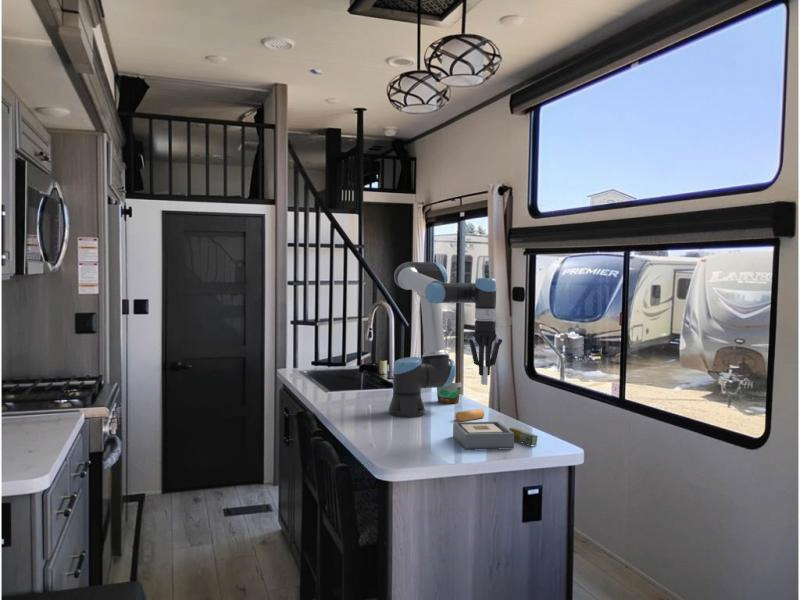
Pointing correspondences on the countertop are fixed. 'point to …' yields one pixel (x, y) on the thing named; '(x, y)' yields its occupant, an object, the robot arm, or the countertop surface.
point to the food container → (449, 393)
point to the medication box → (524, 436)
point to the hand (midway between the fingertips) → (484, 384)
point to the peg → (469, 415)
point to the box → (483, 435)
